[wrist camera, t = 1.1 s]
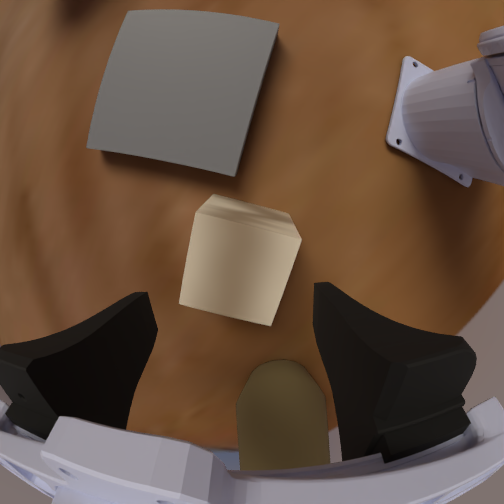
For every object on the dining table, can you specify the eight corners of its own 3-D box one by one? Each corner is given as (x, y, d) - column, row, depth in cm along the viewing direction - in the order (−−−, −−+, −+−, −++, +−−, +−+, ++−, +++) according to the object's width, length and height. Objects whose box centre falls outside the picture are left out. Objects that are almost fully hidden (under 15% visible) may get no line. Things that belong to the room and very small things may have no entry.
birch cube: (288, 213, 20) (301, 239, 14) (267, 280, 21) (270, 325, 16) (213, 193, 19) (195, 212, 14) (198, 263, 21) (178, 303, 15)
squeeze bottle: (328, 350, 24) (375, 535, 7) (308, 403, 27) (329, 551, 10) (241, 346, 24) (226, 550, 7) (235, 400, 27) (224, 556, 10)
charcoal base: (276, 37, 15) (279, 23, 13) (237, 173, 19) (234, 176, 17) (140, 22, 14) (128, 10, 12) (103, 146, 18) (86, 147, 16)
